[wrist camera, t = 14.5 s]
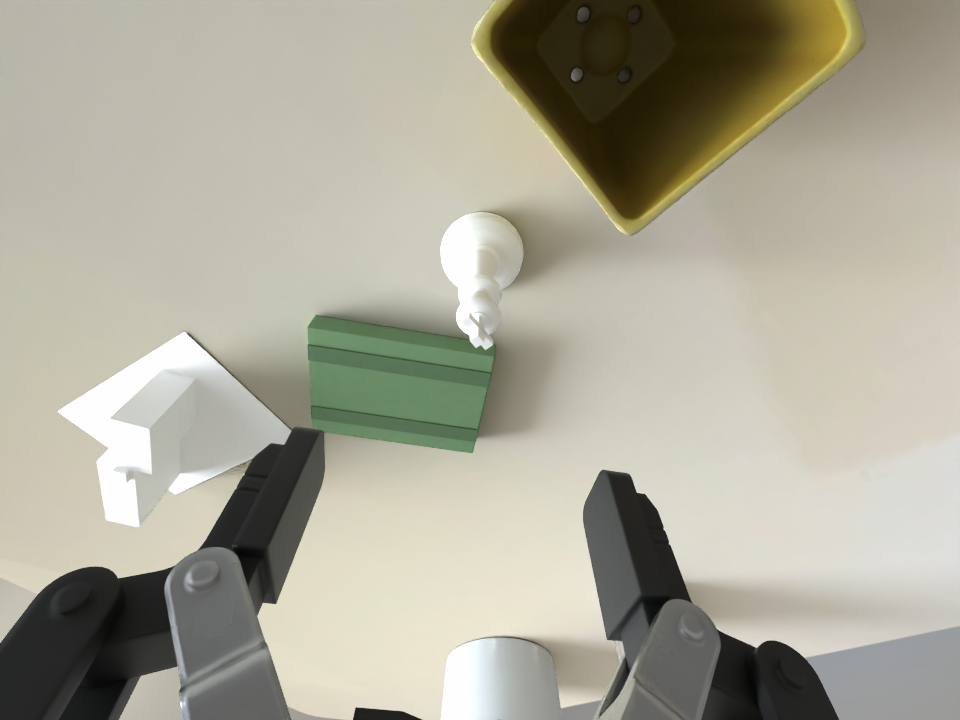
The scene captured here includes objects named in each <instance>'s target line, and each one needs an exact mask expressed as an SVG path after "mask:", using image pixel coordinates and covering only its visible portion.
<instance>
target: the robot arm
mask: <svg viewBox="0 0 960 720" xmlns="http://www.w3.org/2000/svg"><path fill="white" fill-rule="evenodd" d="M324 472H325V453H324V432H323V430H317V429H309V428H302V427H294V428H293V429H292V431H291V433H290V435H289V437H288V439H287V440H286V442H285V444H284V445H282V444H274V443H270V444H269V445H268V446H267V447H265V448H264V449H263V450H262V451H261V452H259V453H258V454H257V455H256V456H255V457H254V458H253V460H252V462H251V463H250V465H249V467H248V469H247V470H246V472H245V476H243V477H242V479H241V481H240V482H239V484H238V486H237V489H236V490H235V491H234V493H233V494H232V496H231V498H230V499H229V501H228V503H227V505H226V506H225V508H224V510H223V512H222V513H221V515H220V517H219V518H218V520H217V522H216V524H215V525H214V527H213V529H212V530H211V532H210V534H209V536H208V537H207V539H206V541H205V542H204V543H203V545H202V546H201V547H200V548H199V550H198V551H196V552H194V553H191V554H190V555H188V556H186V557H185V558H184V559H182V560H181V561H180V562H179V563H178V564H177V565H175V566H173V567H171V568H168V569H165V570H161V571H157V572H151V573H146V574H141V575H135V576H130V577H124V578H119V579H118V578H117V576H116V575H115V574H114V572H112V571H111V570H109V569H107V568H104V567H87V568H82V569H78V570H75V571H72V572H70V573H67V574H65V575H63V576H61V577H60V578H58V579H56V580H55V581H53V582H52V583H50V584H49V585H48V586H46V587H45V588H44V589H43V590H42V591H41V592H40V593H39V594H38V595H37V596H36V597H35V599H34V600H33V601H32V603H31V604H30V605H29V606H28V608H27V609H26V610H25V612H24V613H23V614H22V616H21V617H20V618H19V620H18V621H17V622H16V623H15V625H14V626H13V627H12V629H11V630H10V631H9V633H8V634H7V635H6V637H5V638H4V639H3V640H2V642H1V643H0V720H119V718H120V716H121V714H122V712H123V710H124V708H125V706H126V704H127V702H128V700H129V698H130V695H131V694H132V692H133V690H134V688H135V686H136V684H137V682H138V680H139V678H140V676H142V675H146V674H149V673H153V672H157V671H161V670H165V669H169V668H173V667H177V666H178V670H179V676H180V683H181V689H180V691H179V697H180V706H181V713H182V719H183V720H291V718H290V714H289V711H288V708H287V705H286V701H285V698H284V695H283V692H282V689H281V686H280V682H279V679H278V676H277V673H276V670H275V667H274V664H273V660H272V657H271V654H270V651H269V648H268V646H267V643H266V642H265V640H264V637H263V634H262V630H261V627H260V624H259V621H258V618H257V615H258V613H259V610H260V608H261V606H262V603H271V604H276V603H277V600H278V597H279V595H280V592H281V590H282V587H283V585H284V582H285V579H286V577H287V574H288V572H289V569H290V566H291V564H292V561H293V559H294V556H295V554H296V551H297V548H298V546H299V543H300V541H301V538H302V535H303V533H304V530H305V528H306V525H307V523H308V520H309V517H310V515H311V512H312V510H313V507H314V504H315V502H316V499H317V497H318V494H319V492H320V489H321V486H322V482H323V478H324ZM583 523H584V528H585V533H586V538H587V543H588V548H589V553H590V558H591V563H592V567H593V572H594V577H595V582H596V587H597V592H598V597H599V602H600V607H601V612H602V617H603V622H604V627H605V632H606V637H607V640H613V641H622V643H623V648H624V652H625V653H624V655H623V656H622V658H621V660H620V662H619V664H618V666H617V668H616V671H615V673H614V675H613V677H612V679H611V681H610V684H609V686H608V688H607V690H606V692H605V694H604V697H603V699H602V701H601V703H600V706H599V707H598V710H597V712H596V714H595V716H594V718H593V720H839V719H838V716H837V714H836V712H835V710H834V708H833V706H832V704H831V702H830V700H829V698H828V696H827V694H826V692H825V689H824V687H823V685H822V683H821V681H820V679H819V678H818V675H817V674H816V672H815V671H814V669H813V668H812V666H811V665H810V664H809V663H808V662H807V660H806V659H805V658H804V657H803V656H801V655H800V654H799V653H798V652H797V651H795V650H794V649H793V648H791V647H789V646H788V645H786V644H783V643H781V642H778V641H766V642H764V643H762V644H761V645H760V646H759V647H758V648H755V647H753V646H751V645H749V644H746V643H744V642H742V641H740V640H737V639H735V638H733V637H731V636H729V635H726V634H724V633H722V632H720V631H719V630H717V629H716V627H715V625H714V624H713V622H712V621H711V619H710V618H709V617H708V616H707V614H706V613H705V612H704V611H702V610H701V609H700V608H699V607H697V606H696V605H694V604H693V603H692V601H691V599H690V597H689V594H688V592H687V589H686V586H685V584H684V581H683V578H682V575H681V573H680V570H679V567H678V565H677V562H676V559H675V557H674V554H673V551H672V548H671V546H670V545H669V540H668V538H667V535H666V532H665V531H664V530H663V528H664V527H663V524H662V521H661V519H660V516H659V513H658V511H657V509H656V508H655V507H654V505H653V504H652V503H651V501H650V500H649V499H648V498H647V496H646V495H645V494H640V493H637V492H636V490H635V487H634V484H633V481H632V478H631V476H630V475H629V474H628V473H622V472H614V471H607V470H602V471H601V472H600V473H599V475H598V477H597V479H596V481H595V483H594V485H593V487H592V489H591V491H590V493H589V495H588V497H587V499H586V502H585V505H584V510H583ZM353 720H421V719H419V718H417V717H414V716H412V715H410V714H407V713H405V712H402V711H390V710H379V709H367V708H355V713H354V718H353Z"/></svg>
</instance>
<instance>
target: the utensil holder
mask: <svg viewBox="0 0 960 720" xmlns="http://www.w3.org/2000/svg"><path fill="white" fill-rule="evenodd" d="M441 720H562V715H561V708H560V700H559V693H558V687H557V680H556V673H555V667H554V661H553V658H552V655H551V654H550V653H549V651H547V650H546V649H545V648H543V647H542V646H540V645H537V644H535V643H532V642H529V641H525V640H521V639H514V638H485V639H479V640H475V641H471V642H468V643H465V644H463V645H461V646H459V647H457V648H456V649H455V650H453V651H452V652H451V653H450V655H449V657H448V660H447V666H446V675H445V685H444V694H443V704H442V716H441Z"/></svg>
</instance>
